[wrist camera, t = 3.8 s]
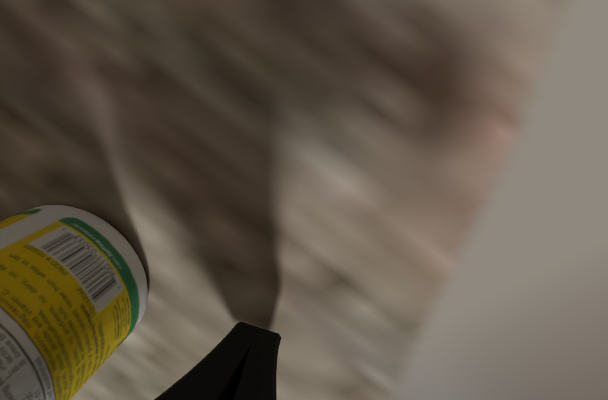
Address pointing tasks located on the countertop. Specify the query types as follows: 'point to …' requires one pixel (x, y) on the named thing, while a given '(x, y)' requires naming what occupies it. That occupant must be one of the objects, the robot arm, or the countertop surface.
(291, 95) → the countertop surface
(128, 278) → the supplement bottle
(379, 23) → the countertop surface
